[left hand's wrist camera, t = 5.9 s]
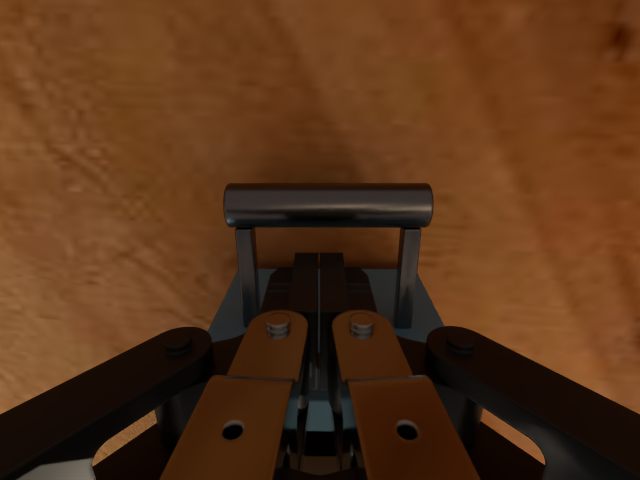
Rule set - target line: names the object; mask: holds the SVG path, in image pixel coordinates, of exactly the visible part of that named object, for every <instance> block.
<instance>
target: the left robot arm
mask: <svg viewBox="0 0 640 480" xmlns="http://www.w3.org/2000/svg"><path fill="white" fill-rule="evenodd" d="M317 385H318V253H295V260H294V266H293V267H279V268H278V269H277V270H275V271H274V272H273V273H272V274H271V275H270V278H269V281H268V285H267V288H266V292H265V296H264V299H263V303H262V306H261V310H260V313H259V315H258V316H256V317H255V318H254V319H253V320H252V321H251V322H250V324H249V326H248V328H247V330H246V333H244V334H242V335H240V336H237V337H234V338H231V339H226V340H221V341H216V342H212V338H211V335H210V334H209V333H208V332H207V331H205V330H203V329H201V328H196V327H181V328H176V329H172V330H169V331H166V332H164V333H161V334H159V335H157V336H155V337H153V338H151V339H149V340H147V341H145V342H143V343H141V344H140V345H138V346H136V347H134V348H132V349H130V350H128V351H126V352H124V353H122V354H120V355H118V356H116V357H114V358H112V359H110V360H108V361H106V362H104V363H102V364H100V365H98V366H96V367H94V368H92V369H90V370H88V371H86V372H84V373H82V374H80V375H78V376H76V377H74V378H72V379H70V380H68V381H66V382H64V383H62V384H60V385H58V386H56V387H54V388H52V389H50V390H48V391H46V392H44V393H42V394H40V395H38V396H36V397H34V398H32V399H30V400H28V401H26V402H24V403H22V404H20V405H18V406H16V407H14V408H12V409H10V410H8V411H6V412H4V413H2V414H0V480H640V414H638V413H636V412H634V411H632V410H630V409H628V408H626V407H624V406H622V405H620V404H618V403H616V402H614V401H612V400H610V399H608V398H606V397H604V396H602V395H600V394H598V393H596V392H594V391H592V390H590V389H588V388H586V387H584V386H582V385H580V384H578V383H576V382H574V381H572V380H570V379H568V378H566V377H564V376H562V375H560V374H558V373H556V372H554V371H552V370H550V369H548V368H546V367H544V366H542V365H540V364H538V363H536V362H534V361H532V360H530V359H528V358H526V357H524V356H522V355H520V354H518V353H516V352H514V351H512V350H510V349H508V348H506V347H504V346H502V345H500V344H498V343H497V342H495V341H493V340H491V339H489V338H487V337H485V336H483V335H481V334H479V333H477V332H474V331H472V330H469V329H466V328H462V327H456V326H444V327H439V328H436V329H434V330H432V331H431V332H430V333H429V334H428V336H427V341H426V343H425V342H420V341H415V340H410V339H406V338H403V337H400V336H397V335H395V333H394V330H393V328H392V326H391V324H390V322H389V321H388V320H387V319H386V318H385V317H384V316H382V315H380V314H378V312H377V308H376V304H375V300H374V297H373V293H372V289H371V285H370V282H369V278H368V275H367V274H366V273H365V272H364V271H363V270H361V269H360V268H359V267H344V260H343V253H320V390H328V401H329V404H330V407H331V423H332V431H333V438H334V446H335V454H336V462H337V470H338V472H334V473H330V474H326V475H314V474H310V473H306V472H302V470H303V462H304V454H305V446H306V438H307V431H308V423H309V390H317ZM483 408H484V409H486V410H488V411H489V412H491V413H492V414H494V415H495V416H497V417H498V418H500V419H501V420H503V421H504V422H506V423H507V424H509V425H510V426H512V427H513V428H515V429H517V430H518V431H520V432H521V433H523V434H524V435H526V436H527V437H529V438H530V439H531V440H532V441H533V442H535V443H536V445H537V446H538V447H539V448H540V450H541V451H542V453H543V455H544V458H545V465H544V464H542V463H541V462H539V461H538V460H536V459H535V458H534V457H532V456H531V455H529V454H528V453H526V452H525V451H523V450H522V449H520V448H519V447H517V446H516V445H515V444H513V443H512V442H510V441H509V440H507V439H506V438H504V437H503V436H501V435H500V434H499V433H497V432H496V431H494V430H493V429H491V428H490V427H488V426H487V425H485V424H484V423H483V422H481V421H480V420H481V415H482V410H483ZM152 410H155V415H156V419H157V423H156V424H155V425H153V426H152V427H150V428H149V429H147V430H146V431H144V432H143V433H141V434H140V435H139V436H137V437H136V438H134V439H133V440H131V441H130V442H128V443H127V444H125V445H124V446H122V447H121V448H120V449H118V450H117V451H115V452H114V453H112V454H111V455H109V456H108V457H106V458H105V459H104V460H102V461H101V462H99V463H98V464H96V465H95V466H93V467H92V462H93V458H94V456H95V454H96V452H97V451H98V449H99V448H100V447H101V446H102V445H103V444H104V443H105V442H106V441H107V440H108V439H110V438H111V437H113V436H114V435H116V434H117V433H119V432H120V431H122V430H123V429H125V428H126V427H128V426H130V425H131V424H133V423H134V422H136V421H137V420H139V419H140V418H142V417H143V416H145V415H146V414H148V413H149V412H151V411H152Z"/></svg>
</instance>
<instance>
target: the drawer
mask: <svg viewBox="0 0 640 480" xmlns="http://www.w3.org/2000/svg"><path fill="white" fill-rule="evenodd" d="M223 209H224V217H225V221H226V223H227V225H228V226H229V227H237V228H236V229H235V236H236V247H237V258H238V268H239V269H238V271H237V273H236V275H235V277H234V279H233V281H232V283H231V286H230V288H229V290H228V292H227V294H226V296H225V298H224V300H223V302H222V304H221V306H220V308H219V310H218V312H217V314H216V316H215V318H214V320H213V322H212V324H211V326H210V328H209V330H208V333H209V334H210V335H211V338H212V342H216V341H221V340H226V339H231V338H234V337H237V336H240V335H242V334H244V333H246V330H247V328H248V326H249V324H250V322H251V321H252V320H253V319H254V318H255V317H256V316H258V315H259V313H260V310H261V306H262V303H263V299H264V296H265V292H266V288H267V285H268V281H269V278H270V275H271V274H272V273H273V272H274V271H275V270H277V269H258V262H257V248H256V234H255V227H391V228H400V239H399V252H398V264H397V269H361V270H363V271H364V272H365V273H366V274H367V275H368V278H369V282H370V285H371V289H372V293H373V297H374V300H375V304H376V308H377V312H378V314H380V315H382V316H384V317H385V318H386V319H387V320H388V321H389V322H390V324H391V326H392V328H393V330H394V333H395V335H397V336H400V337H403V338H406V339H410V340H415V341H420V342H425V343H426V341H427V336H428V334H429V333H430V332H431V331H432V330H434V329H436V328H439V327H444V324H443V322H442V320H441V318H440V316H439V315H438V313H437V311H436V309H435V307H434V305H433V303H432V301H431V299H430V297H429V295H428V293H427V291H426V290H425V288H424V286H423V284H422V282H421V280H420V278H419V276H418V274H417V267H418V257H419V247H420V238H421V229H420V228H425V227H428V226H429V224H430V222H431V219H432V214H433V193H432V189H431V186H430V185H429V184H427V183H230V184H227V186H226V188H225V191H224V198H223ZM482 411H483V410H482ZM481 416H482V415H481ZM480 421H481V420H480ZM304 456H336V454H335V446H334V438H333V431H332V423H331V407H330V404H329V401H328V390H320V269H318V385H317V390H309V423H308V431H307V438H306V446H305V454H304Z"/></svg>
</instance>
